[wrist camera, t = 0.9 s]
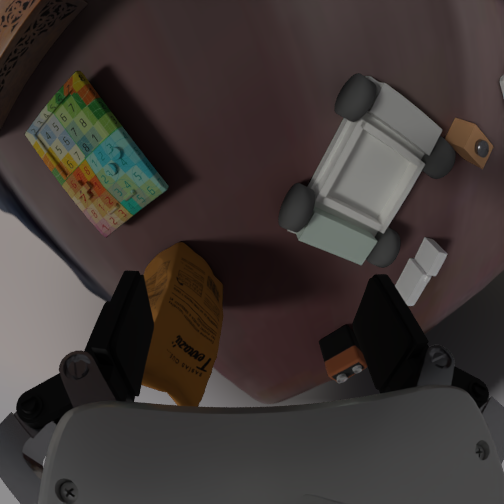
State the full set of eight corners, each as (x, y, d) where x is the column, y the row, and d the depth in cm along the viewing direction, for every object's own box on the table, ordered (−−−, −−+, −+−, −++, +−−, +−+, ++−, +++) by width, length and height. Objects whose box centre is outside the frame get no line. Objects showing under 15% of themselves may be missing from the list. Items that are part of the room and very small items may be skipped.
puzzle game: (103, 241, 35) (20, 135, 26) (115, 225, 39) (39, 128, 30) (165, 192, 33) (72, 71, 23) (173, 180, 36) (89, 71, 27)
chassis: (352, 67, 29) (372, 66, 24) (439, 133, 33) (464, 143, 28) (272, 220, 40) (278, 242, 35) (365, 258, 45) (379, 280, 40)
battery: (317, 340, 55) (328, 380, 47) (346, 323, 53) (361, 363, 44) (327, 348, 57) (339, 387, 48) (355, 332, 55) (370, 370, 46)
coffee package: (186, 312, 49) (170, 428, 30) (138, 263, 43) (92, 381, 24) (233, 289, 46) (236, 413, 28) (186, 232, 40) (155, 359, 22)
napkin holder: (393, 300, 51) (404, 320, 47) (372, 266, 46) (385, 287, 42) (450, 257, 47) (465, 274, 42) (437, 217, 42) (455, 233, 37)
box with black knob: (443, 139, 34) (468, 150, 29) (454, 117, 32) (479, 125, 27) (463, 159, 36) (486, 171, 31) (474, 138, 33) (497, 148, 28)
